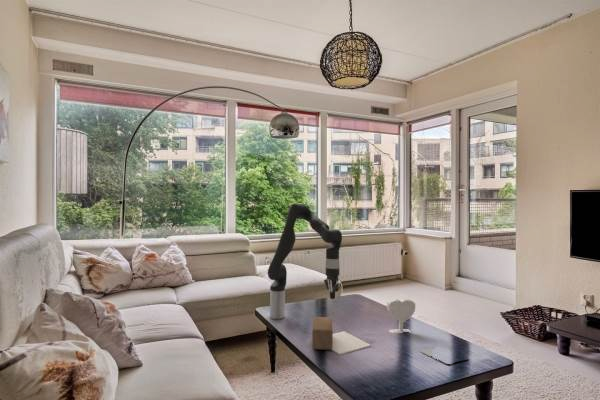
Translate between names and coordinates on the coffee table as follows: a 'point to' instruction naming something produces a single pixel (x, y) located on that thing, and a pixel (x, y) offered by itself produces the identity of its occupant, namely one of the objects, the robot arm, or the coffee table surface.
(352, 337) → the mat
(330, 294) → the robot arm
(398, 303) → the heart sculpture
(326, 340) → the block
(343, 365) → the coffee table surface
